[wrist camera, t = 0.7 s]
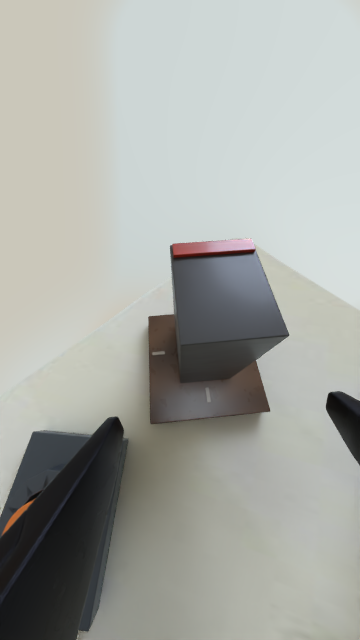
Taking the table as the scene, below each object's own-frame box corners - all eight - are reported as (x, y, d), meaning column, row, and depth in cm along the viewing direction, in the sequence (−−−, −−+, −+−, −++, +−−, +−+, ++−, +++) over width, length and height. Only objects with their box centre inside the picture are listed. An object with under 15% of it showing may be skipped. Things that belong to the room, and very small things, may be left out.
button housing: (98, 609, 14) (74, 664, 11) (-15, 593, 14) (-69, 643, 11) (128, 438, 19) (118, 443, 16) (44, 430, 19) (18, 433, 16)
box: (231, 378, 20) (292, 333, 9) (180, 383, 20) (180, 343, 9) (218, 320, 23) (253, 235, 12) (174, 324, 23) (169, 241, 12)
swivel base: (262, 411, 20) (271, 411, 18) (153, 423, 20) (150, 424, 18) (235, 312, 26) (240, 303, 24) (150, 319, 25) (148, 311, 23)
